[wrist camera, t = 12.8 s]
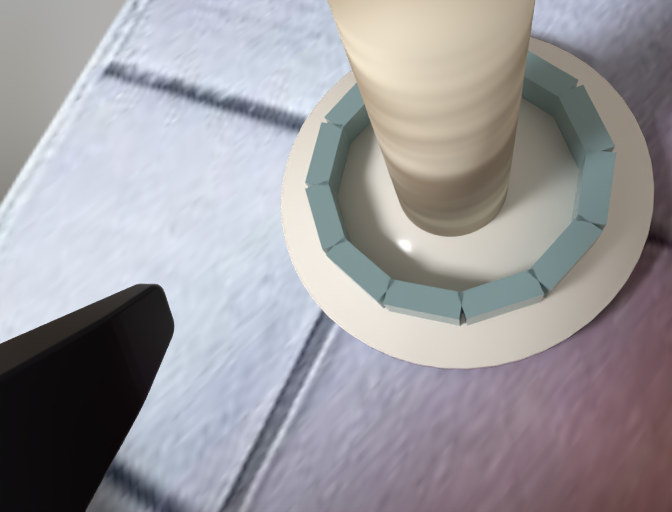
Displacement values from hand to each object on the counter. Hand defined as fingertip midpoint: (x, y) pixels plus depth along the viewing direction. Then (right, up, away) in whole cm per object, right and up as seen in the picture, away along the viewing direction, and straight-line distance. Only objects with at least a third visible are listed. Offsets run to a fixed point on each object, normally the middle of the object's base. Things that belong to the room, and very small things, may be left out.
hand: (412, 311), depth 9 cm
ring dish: (+4, +4, +15) cm, 16 cm away
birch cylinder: (+4, +4, +14) cm, 15 cm away
